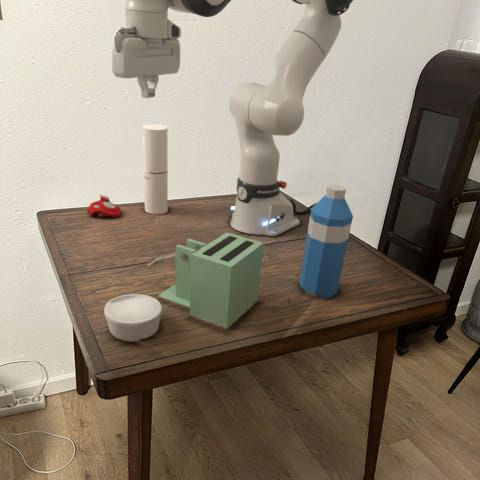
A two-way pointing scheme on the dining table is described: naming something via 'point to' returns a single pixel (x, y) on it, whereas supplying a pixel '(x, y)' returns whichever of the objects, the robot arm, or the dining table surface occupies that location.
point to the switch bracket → (182, 275)
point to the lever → (167, 258)
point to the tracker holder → (104, 208)
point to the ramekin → (133, 316)
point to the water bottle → (326, 243)
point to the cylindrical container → (155, 168)
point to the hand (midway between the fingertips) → (148, 97)
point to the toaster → (225, 279)
